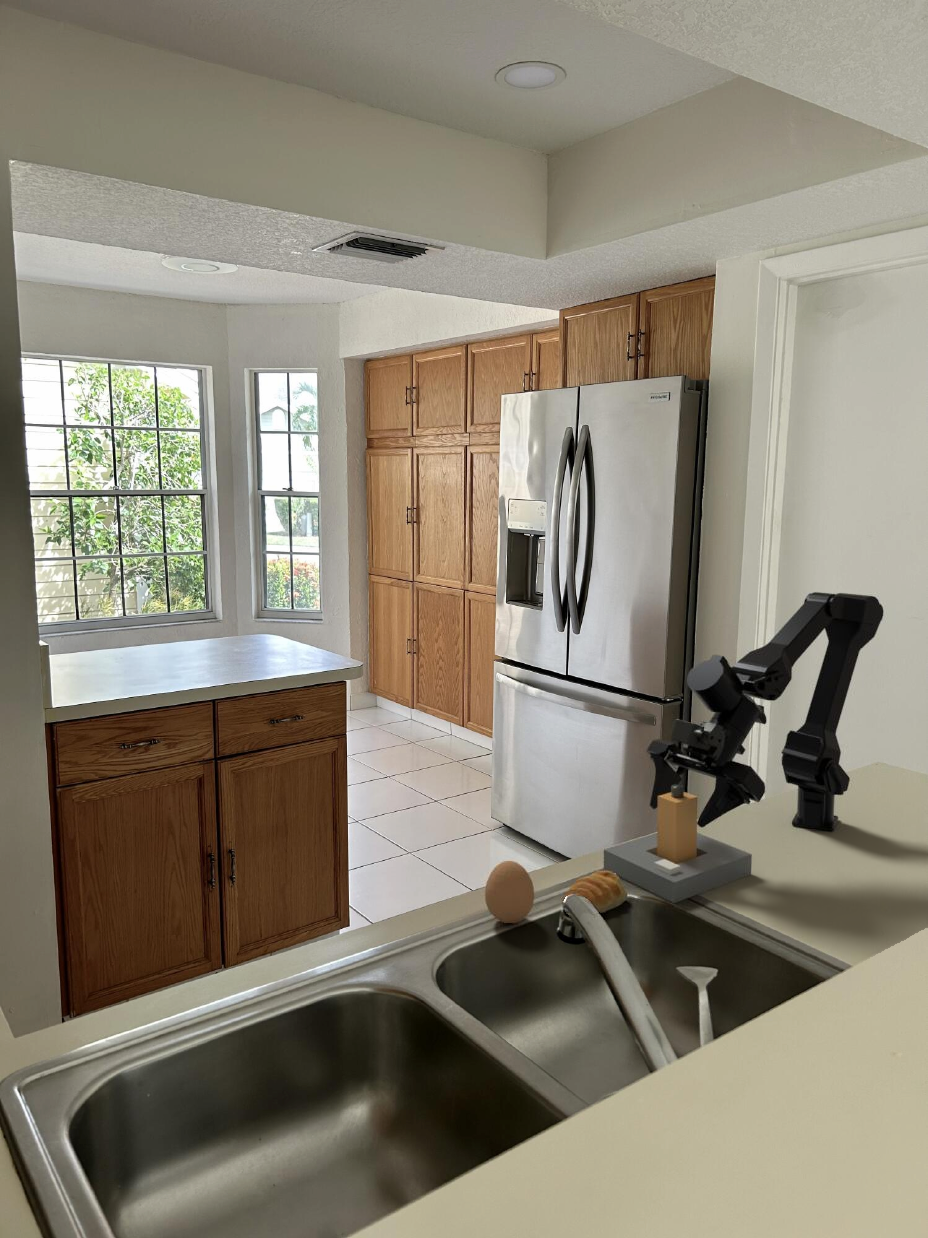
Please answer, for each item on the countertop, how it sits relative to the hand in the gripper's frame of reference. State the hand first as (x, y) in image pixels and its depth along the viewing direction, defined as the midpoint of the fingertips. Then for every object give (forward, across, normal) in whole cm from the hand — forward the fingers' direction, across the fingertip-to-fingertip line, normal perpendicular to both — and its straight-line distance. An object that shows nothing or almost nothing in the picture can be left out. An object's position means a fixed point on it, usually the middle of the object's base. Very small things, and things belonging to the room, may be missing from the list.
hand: (675, 816), depth 132 cm
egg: (+26, -2, -14) cm, 30 cm away
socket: (+6, 0, +6) cm, 9 cm away
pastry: (+18, +1, -5) cm, 18 cm away
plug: (+6, 0, +6) cm, 9 cm away
